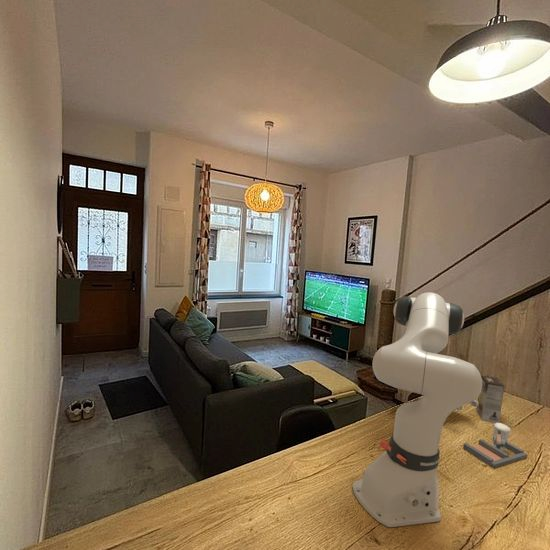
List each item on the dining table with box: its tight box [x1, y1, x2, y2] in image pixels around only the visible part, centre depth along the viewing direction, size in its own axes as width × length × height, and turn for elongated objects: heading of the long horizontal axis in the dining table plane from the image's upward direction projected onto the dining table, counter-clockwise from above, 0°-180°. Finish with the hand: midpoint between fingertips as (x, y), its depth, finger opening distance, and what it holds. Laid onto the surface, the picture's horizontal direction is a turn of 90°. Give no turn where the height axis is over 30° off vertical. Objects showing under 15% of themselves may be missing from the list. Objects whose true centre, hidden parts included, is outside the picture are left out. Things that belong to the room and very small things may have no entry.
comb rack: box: [462, 435, 528, 469], centre depth 106 cm, size 18×10×2 cm, turn 113°
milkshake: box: [492, 422, 514, 453], centre depth 108 cm, size 4×5×10 cm
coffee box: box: [475, 374, 506, 424], centre depth 132 cm, size 9×6×16 cm
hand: (469, 406), depth 120 cm, fingers open, 8 cm apart
